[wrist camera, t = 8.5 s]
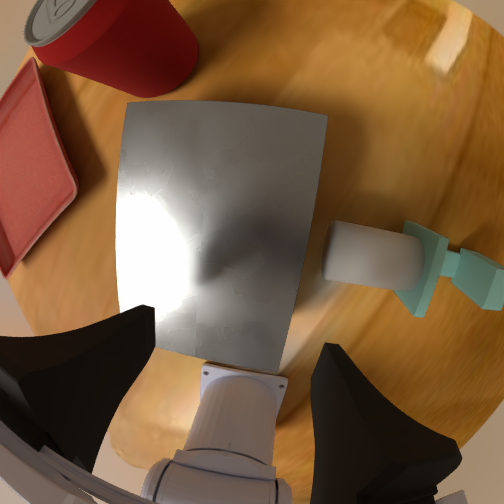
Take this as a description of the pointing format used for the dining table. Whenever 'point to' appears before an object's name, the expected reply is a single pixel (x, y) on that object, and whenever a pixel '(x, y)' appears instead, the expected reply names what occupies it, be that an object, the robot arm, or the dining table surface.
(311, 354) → the dining table surface
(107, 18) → the beverage can
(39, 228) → the plant saucer
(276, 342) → the housing
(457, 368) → the dining table surface
